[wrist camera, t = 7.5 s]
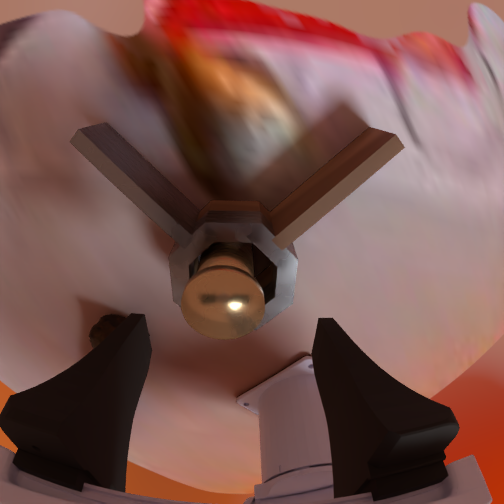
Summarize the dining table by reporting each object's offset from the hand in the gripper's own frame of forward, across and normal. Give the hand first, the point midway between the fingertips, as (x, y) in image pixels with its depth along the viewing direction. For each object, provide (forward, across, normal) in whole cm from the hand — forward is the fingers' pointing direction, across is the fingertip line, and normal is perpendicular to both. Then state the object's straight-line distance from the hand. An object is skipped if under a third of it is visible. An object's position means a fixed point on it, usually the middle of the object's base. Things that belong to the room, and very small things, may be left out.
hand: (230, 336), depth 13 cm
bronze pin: (+8, 0, 0) cm, 8 cm away
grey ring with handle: (+8, +3, -3) cm, 9 cm away
